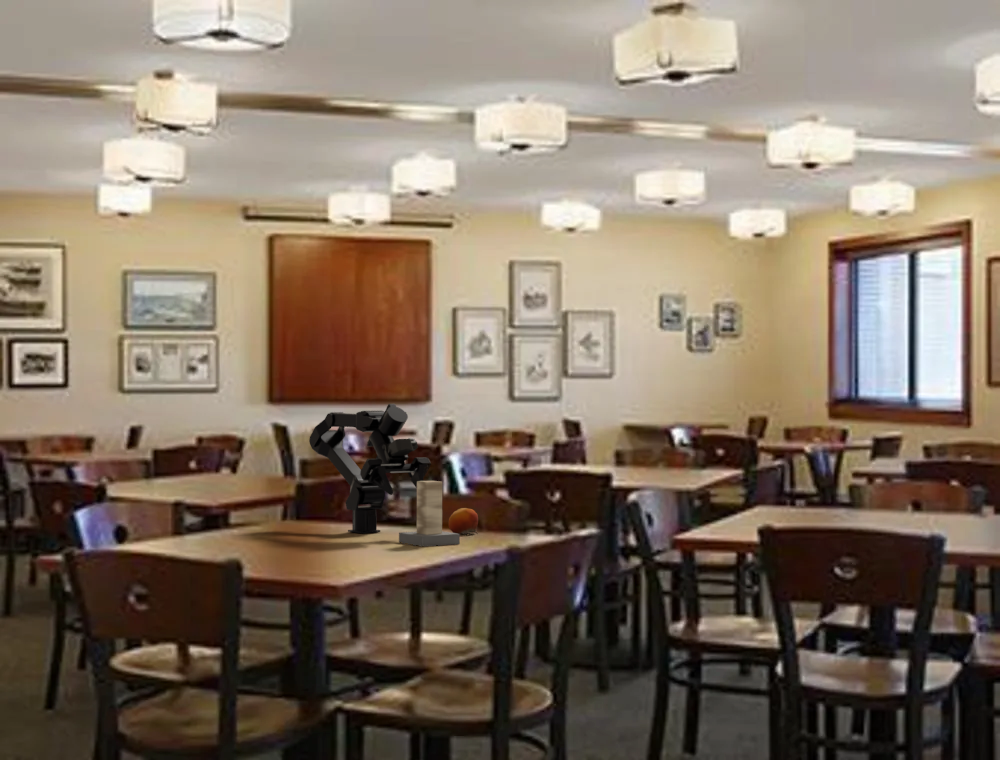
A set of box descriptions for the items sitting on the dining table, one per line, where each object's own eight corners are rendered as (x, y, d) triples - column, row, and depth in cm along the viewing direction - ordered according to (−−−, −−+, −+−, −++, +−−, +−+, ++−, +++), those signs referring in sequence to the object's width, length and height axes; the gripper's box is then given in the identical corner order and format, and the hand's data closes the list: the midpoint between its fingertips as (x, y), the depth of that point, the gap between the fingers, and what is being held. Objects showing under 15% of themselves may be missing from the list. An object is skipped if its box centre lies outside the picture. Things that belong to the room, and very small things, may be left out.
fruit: (471, 530, 373) (459, 504, 376) (451, 544, 377) (439, 517, 380) (490, 528, 380) (478, 502, 382) (470, 542, 384) (458, 515, 386)
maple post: (416, 533, 356) (416, 481, 356) (432, 532, 359) (432, 480, 359) (426, 534, 352) (426, 482, 352) (442, 533, 355) (442, 481, 355)
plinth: (398, 542, 357) (399, 532, 357) (435, 540, 363) (435, 530, 363) (422, 546, 348) (422, 536, 348) (459, 544, 354) (459, 534, 354)
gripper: (366, 427, 364) (387, 473, 355) (427, 427, 374) (450, 471, 365) (350, 456, 370) (371, 502, 361) (411, 455, 381) (433, 499, 372)
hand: (407, 493), depth 365 cm, fingers open, 9 cm apart
